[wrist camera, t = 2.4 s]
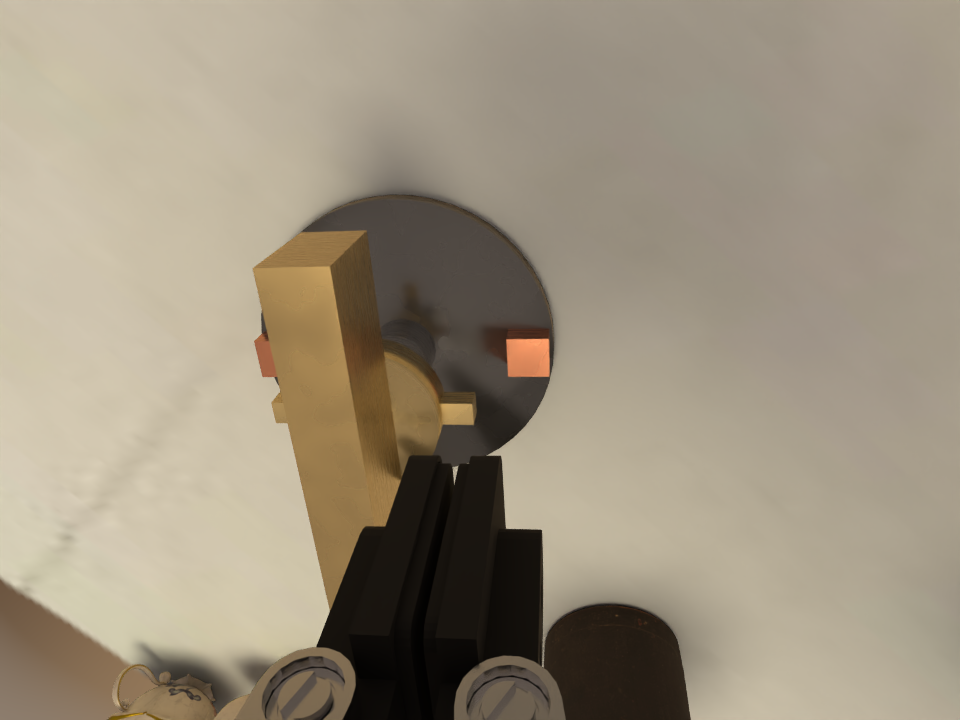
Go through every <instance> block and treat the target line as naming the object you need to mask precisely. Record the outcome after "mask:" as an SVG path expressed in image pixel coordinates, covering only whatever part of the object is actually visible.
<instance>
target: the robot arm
mask: <svg viewBox="0 0 960 720" xmlns="http://www.w3.org/2000/svg"><path fill="white" fill-rule="evenodd" d="M542 637H543V547H542V530H529V529H506V525H505V508H504V490H503V473H502V459H501V456H471V457H470V461H469V464H463V463H460V464H459V467H458V471H457V476H456V480H455V485H454V478H453V469H452V464H451V463H442V459H441V456H440V455H411V456H409V458H408V461H407V464H406V467H405V470H404V473H403V476H402V479H401V482H400V484H399V487H398V490H397V493H396V496H395V499H394V502H393V505H392V508H391V511H390V514H389V517H388V520H387V523H386V526H365V527H364V528H363V529H362V531H361V533H360V535H359V538H358V540H357V543H356V545H355V548H354V551H353V553H352V556H351V558H350V561H349V564H348V566H347V569H346V571H345V574H344V576H343V579H342V582H341V584H340V587H339V589H338V592H337V595H336V597H335V600H334V602H333V605H332V608H331V610H330V613H329V615H328V618H327V621H326V623H325V626H324V628H323V631H322V634H321V636H320V639H319V641H318V644H317V646H316V647H311V648H307V649H302V650H298V651H295V652H293V653H291V654H289V655H287V656H285V657H283V658H281V659H280V660H279V661H277V662H276V663H275V664H273V665H272V666H271V667H270V668H268V670H267V671H266V672H265V673H264V675H263V676H262V677H261V678H260V680H259V681H258V682H257V684H256V685H255V687H254V689H253V690H252V692H251V693H250V695H249V697H248V698H247V700H246V701H245V703H244V705H243V706H242V708H241V710H240V711H239V713H238V714H237V716H236V718H235V719H234V720H566V718H565V713H564V707H563V701H562V696H561V694H560V691H559V688H558V685H557V683H556V681H555V680H554V679H553V677H552V676H551V675H550V674H549V672H548V671H547V670H546V669H544V668H543V667H542Z"/></svg>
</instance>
